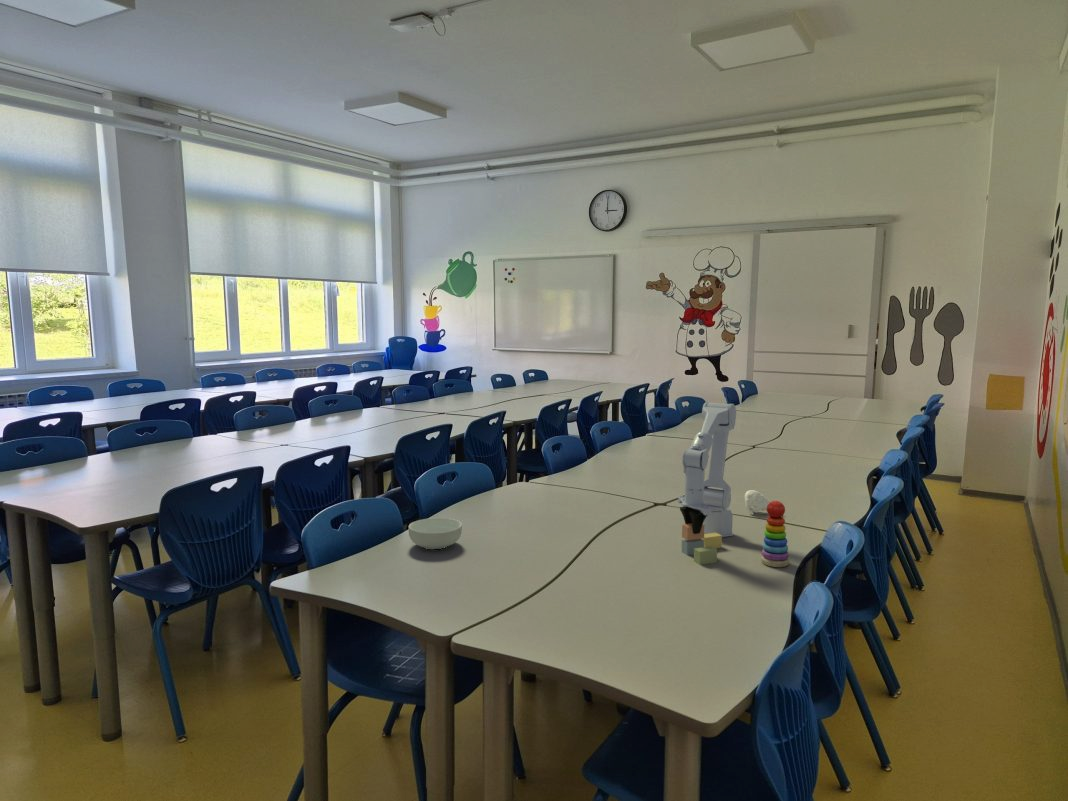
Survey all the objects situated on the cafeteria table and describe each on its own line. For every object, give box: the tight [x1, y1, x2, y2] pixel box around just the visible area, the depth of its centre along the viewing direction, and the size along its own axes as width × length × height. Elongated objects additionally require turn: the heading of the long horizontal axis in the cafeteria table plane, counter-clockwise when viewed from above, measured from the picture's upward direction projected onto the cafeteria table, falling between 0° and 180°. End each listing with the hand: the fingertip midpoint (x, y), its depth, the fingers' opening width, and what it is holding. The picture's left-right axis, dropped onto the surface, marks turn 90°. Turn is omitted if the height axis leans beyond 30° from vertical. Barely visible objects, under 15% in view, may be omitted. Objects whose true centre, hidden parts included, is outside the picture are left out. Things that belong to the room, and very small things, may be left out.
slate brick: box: [681, 538, 704, 556], centre depth 205 cm, size 6×3×4 cm, turn 111°
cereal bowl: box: [408, 517, 463, 550], centre depth 211 cm, size 17×17×7 cm
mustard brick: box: [700, 533, 723, 549], centre depth 209 cm, size 6×3×4 cm, turn 111°
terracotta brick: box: [681, 523, 705, 540], centre depth 204 cm, size 6×3×4 cm, turn 111°
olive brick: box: [693, 546, 718, 566], centre depth 197 cm, size 6×3×4 cm, turn 111°
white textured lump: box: [744, 489, 772, 516], centre depth 244 cm, size 6×8×12 cm
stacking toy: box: [760, 500, 790, 568], centre depth 194 cm, size 8×8×19 cm
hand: (693, 531), depth 204 cm, fingers closed on terracotta brick, 3 cm apart
